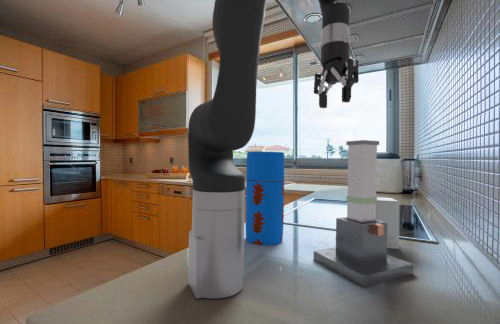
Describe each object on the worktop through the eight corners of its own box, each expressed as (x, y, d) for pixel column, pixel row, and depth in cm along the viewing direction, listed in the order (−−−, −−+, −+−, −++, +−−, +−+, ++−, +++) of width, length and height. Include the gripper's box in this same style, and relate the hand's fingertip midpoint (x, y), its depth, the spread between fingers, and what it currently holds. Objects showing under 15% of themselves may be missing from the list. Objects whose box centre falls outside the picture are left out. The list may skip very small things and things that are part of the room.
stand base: (364, 287, 46) (365, 231, 46) (313, 259, 59) (314, 216, 59) (413, 273, 52) (413, 224, 52) (357, 251, 65) (358, 211, 65)
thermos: (239, 242, 71) (240, 151, 71) (252, 232, 81) (254, 153, 81) (277, 247, 67) (279, 151, 67) (286, 236, 77) (288, 153, 77)
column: (362, 232, 53) (363, 140, 53) (345, 226, 57) (346, 141, 57) (377, 229, 55) (379, 141, 55) (359, 224, 59) (361, 142, 59)
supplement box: (399, 249, 67) (400, 201, 67) (369, 247, 69) (370, 199, 69) (390, 241, 74) (391, 197, 74) (363, 239, 76) (363, 196, 76)
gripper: (307, 52, 75) (306, 108, 75) (344, 30, 62) (343, 97, 62) (327, 57, 78) (326, 110, 78) (366, 37, 66) (365, 101, 66)
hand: (333, 105), depth 70 cm, fingers open, 8 cm apart
